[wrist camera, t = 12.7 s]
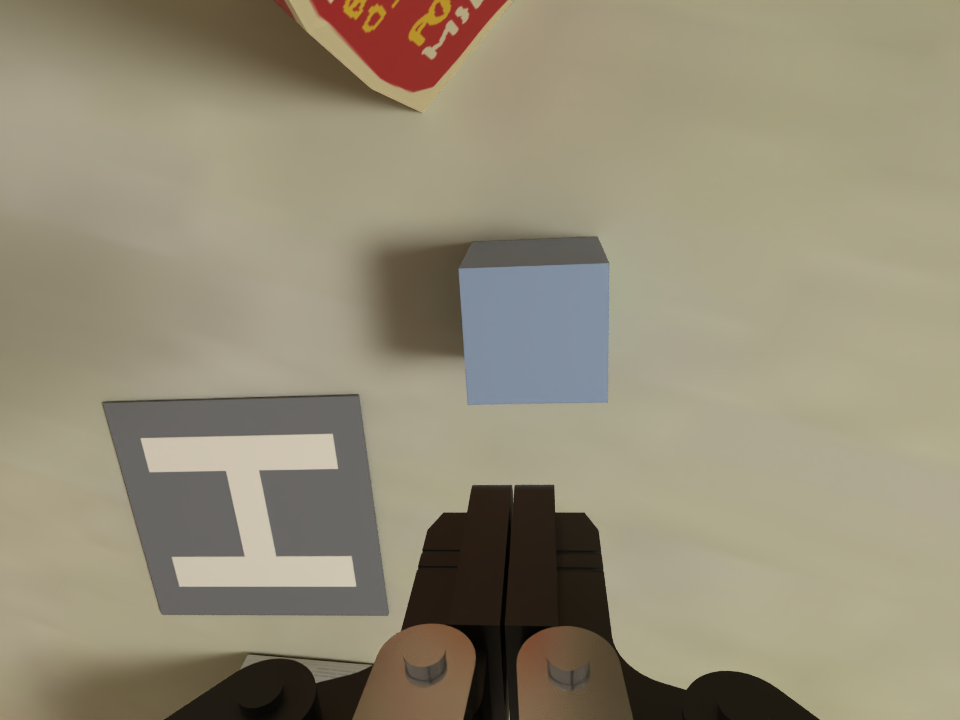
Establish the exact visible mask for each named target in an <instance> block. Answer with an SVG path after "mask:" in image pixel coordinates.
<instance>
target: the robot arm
mask: <svg viewBox="0 0 960 720" xmlns="http://www.w3.org/2000/svg"><path fill="white" fill-rule="evenodd" d="M509 713H510V720H819V719H818V718H817V717H815V716H814V715H813V714H811V713H810V712H809V711H807V710H806V709H805V708H803V707H802V706H801V705H799V704H798V703H796V702H795V701H794V700H792V699H791V698H790V697H788V696H787V695H786V694H784V693H783V692H782V691H780V690H779V689H777V688H776V687H774V686H773V685H771V684H770V683H768V682H766V681H764V680H762V679H760V678H758V677H755V676H752V675H749V674H745V673H741V672H734V671H718V672H712V673H709V674H706V675H703V676H701V677H699V678H698V679H696V680H695V681H694V682H693V683H692V684H691V685H690V686H689V687H688V689H687V690H684V689H681V688H677V687H674V686H671V685H667V684H664V683H661V682H658V681H655V680H652V679H650V678H648V677H646V676H644V675H642V674H641V673H639V672H638V671H636V670H635V669H633V668H632V667H631V666H630V665H629V664H627V663H626V662H625V660H624V659H623V658H622V657H621V656H620V654H619V653H618V651H617V650H616V647H615V645H614V643H613V639H612V633H611V626H610V618H609V610H608V602H607V594H606V586H605V578H604V572H603V563H602V555H601V547H600V539H599V531H598V529H597V528H596V527H595V525H594V524H593V523H592V522H591V520H590V519H589V518H588V517H587V515H586V514H585V513H555V495H554V485H515V489H514V503H513V490H512V485H473V486H472V489H471V494H470V500H469V506H468V511H467V513H443V514H442V515H441V516H440V517H439V518H438V519H437V520H436V521H435V523H434V524H433V525H432V526H431V527H430V528H429V529H428V531H427V535H426V538H425V542H424V546H423V553H422V554H421V557H420V561H419V565H418V570H417V573H416V576H415V580H414V584H413V588H412V592H411V595H410V599H409V603H408V607H407V611H406V614H405V618H404V622H403V626H402V630H401V632H399V633H397V634H396V635H394V636H393V637H391V638H390V639H389V640H388V641H387V642H386V643H385V644H384V645H383V647H382V648H381V649H380V651H379V653H378V655H377V657H376V660H375V663H374V664H373V665H372V666H370V667H368V668H366V669H364V670H361V671H359V672H356V673H353V674H350V675H346V676H342V677H338V678H334V679H330V680H326V681H322V682H318V683H316V682H315V678H314V676H313V674H312V672H311V671H310V670H309V669H308V668H307V667H306V666H305V665H303V664H302V663H300V662H297V661H295V660H290V659H282V658H277V659H268V660H263V661H259V662H256V663H253V664H251V665H249V666H246V667H244V668H242V669H241V670H239V671H237V672H236V673H234V674H233V675H231V676H230V677H228V678H227V679H225V680H224V681H222V682H221V683H219V684H217V685H216V686H214V687H213V688H211V689H210V690H208V691H207V692H205V693H204V694H202V695H201V696H199V697H198V698H196V699H195V700H193V701H192V702H190V703H189V704H187V705H186V706H184V707H183V708H181V709H180V710H178V711H177V712H175V713H174V714H172V715H171V716H169V717H168V718H166V719H164V720H509Z"/></svg>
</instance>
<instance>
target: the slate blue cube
mask: <svg viewBox="0 0 960 720" xmlns="http://www.w3.org/2000/svg"><path fill="white" fill-rule="evenodd" d="M459 284H460V299H461V314H462V329H463V344H464V359H465V374H466V388H467V403H468V405H481V404H543V403H605V402H608V336H609V261H608V259H607V257H606V255H605V252H604V250H603V248H602V246H601V243H600V241H599V239H598V237H576V238H552V239H527V240H502V241H477V242H472V243H471V245H470V247H469V249H468V251H467V253H466V255H465V257H464V259H463V261H462V263H461V265H460V267H459Z"/></svg>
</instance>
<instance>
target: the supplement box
mask: <svg viewBox="0 0 960 720" xmlns="http://www.w3.org/2000/svg"><path fill="white" fill-rule="evenodd" d="M277 658H282V659H290V660H295V661H297V662H300V663H302V664H303V665H305V666H306V667H307V668H308V669H309V670H310V671H311V672H312V674H313V676H314V678H315V682H316V683H318V682H322V681H326V680H330V679H334V678H338V677H342V676H346V675H350V674H353V673H356V672H359V671H361V670H364V669H366V668H368V667H370V666H372V665H368V664H354V663H342V662H331V661H319V660H306V659H295V658H284V657H273V656H260V655H247V656H246V658H245V660H244V662H243V664H242V666H241V668H240V670H241V669H242V668H244V667H246V666H249V665H251V664H253V663H256V662H259V661H263V660H268V659H277Z"/></svg>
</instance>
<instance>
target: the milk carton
mask: <svg viewBox="0 0 960 720" xmlns="http://www.w3.org/2000/svg"><path fill="white" fill-rule="evenodd" d="M274 1H275V2H276V3H277V4H278V5H280V6H281V7H282V8H283V9H284V10H285V11H286V12H287V13H288V14H289V15H290V16H291V17H292V18H293V19H294V20H295V21H296V22H297V23H298V24H299V25H300V26H301V27H302V28H303V29H304V30H305V31H306V32H307V33H309V34H310V35H311V36H312V37H313V38H314V39H315V40H317V41H318V42H319V43H320V44H321V45H322V46H323V47H324V48H326V49H327V50H328V51H329V52H330V53H331V54H332V55H334V56H335V57H336V58H337V59H338V60H339V61H340V62H341V63H343V64H344V65H345V66H346V67H347V68H348V69H349V70H350V71H352V72H353V73H354V74H355V75H356V76H357V77H358V78H360V79H361V80H362V81H363V82H364V83H365V84H366V85H367V86H369V87H370V88H371V89H372V90H375V91H377V92H379V93H381V94H383V95H385V96H387V97H389V98H392V99H394V100H396V101H398V102H400V103H402V104H404V105H406V106H409V107H411V108H413V109H415V110H417V111H419V112H421V113H423V112H424V111H425V110H426V109H427V107H428V106H429V105H430V104H431V102H432V101H433V100H434V99H435V97H436V96H437V95H438V94H439V92H440V91H441V90H442V89H443V87H444V86H445V85H446V84H447V82H448V81H449V80H450V79H451V78H452V76H453V75H454V74H455V73H456V71H457V70H458V69H459V68H460V66H461V65H462V64H463V63H464V61H465V60H466V59H467V58H468V56H469V55H470V54H471V53H472V51H473V50H474V49H475V48H476V46H477V45H478V44H479V43H480V41H481V40H482V39H483V38H484V36H485V35H486V34H487V33H488V32H489V30H490V29H491V28H492V27H493V25H494V24H495V23H496V22H497V20H498V19H499V18H500V17H501V15H502V14H503V13H504V12H505V10H506V9H507V8H508V7H509V5H510V4H511V3H512V1H513V0H274Z"/></svg>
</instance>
